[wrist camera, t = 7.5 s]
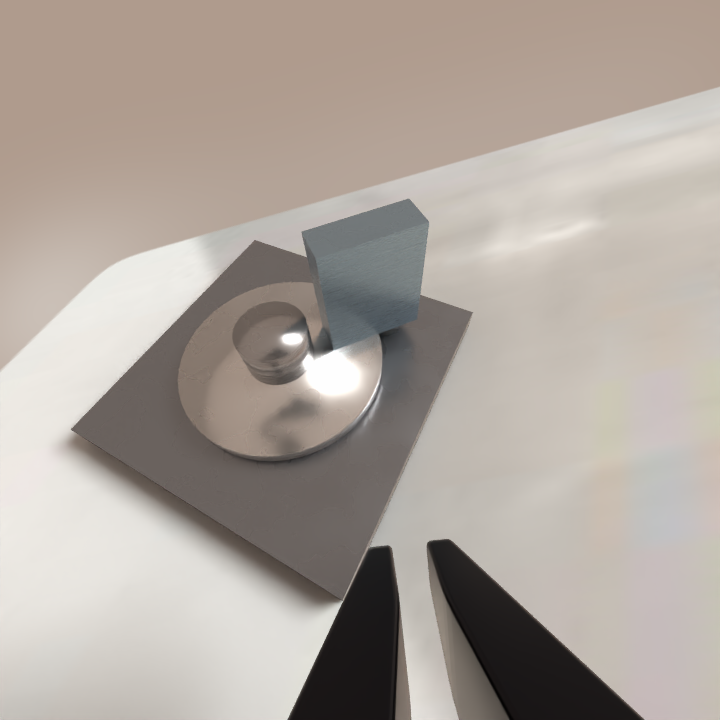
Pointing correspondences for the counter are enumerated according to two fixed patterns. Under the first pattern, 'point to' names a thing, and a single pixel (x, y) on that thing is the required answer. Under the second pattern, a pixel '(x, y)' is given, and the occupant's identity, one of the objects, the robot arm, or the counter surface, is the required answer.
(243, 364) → the flange
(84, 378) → the counter surface
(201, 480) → the locating plate
